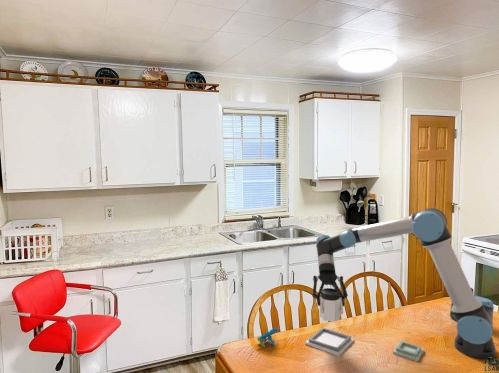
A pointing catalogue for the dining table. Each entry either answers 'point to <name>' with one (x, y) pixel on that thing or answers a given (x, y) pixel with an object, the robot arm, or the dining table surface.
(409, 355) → the small collar
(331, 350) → the grey picture frame
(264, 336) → the blue green toy
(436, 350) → the dining table surface
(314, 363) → the dining table surface
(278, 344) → the dining table surface
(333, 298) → the jar
